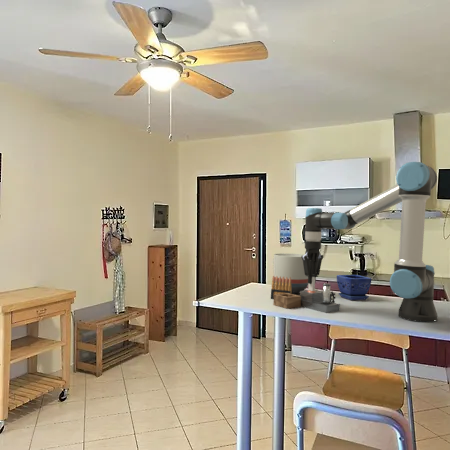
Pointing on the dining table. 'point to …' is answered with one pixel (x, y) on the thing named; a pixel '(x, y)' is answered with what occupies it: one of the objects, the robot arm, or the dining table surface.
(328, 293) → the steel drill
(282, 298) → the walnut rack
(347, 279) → the flower pot
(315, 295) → the socket block
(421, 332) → the dining table surface
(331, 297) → the valve
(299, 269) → the planter
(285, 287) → the ammunition clip
